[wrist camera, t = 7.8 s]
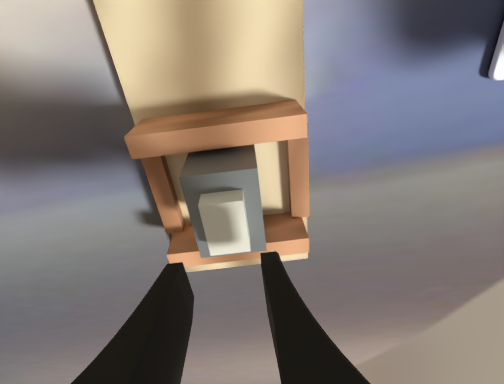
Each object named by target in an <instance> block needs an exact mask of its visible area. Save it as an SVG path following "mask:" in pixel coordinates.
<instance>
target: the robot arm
mask: <svg viewBox="0 0 504 384" xmlns="http://www.w3.org/2000/svg"><path fill="white" fill-rule="evenodd" d="M488 76H489V78H490V79H491V80H497V81H499V80H504V22H503V25H502V28H501V32H500V35H499V39H498V42H497V45H496V49H495V52H494V56H493V59H492V62H491V66H490V69H489V74H488ZM260 256H261V268H262V275H263V282H264V290H265V297H266V304H267V312H268V317H269V322H270V327H271V332H272V337H273V342H274V348H275V353H276V358H277V363H278V368H279V373H280V379H281V384H370V383H369V382H368V381H367V380H366V379H365V378H364V377H363V376H362V374H361V373H360V372H359V371H358V370H357V369H356V368H355V367H354V365H353V364H352V363H351V362H350V361H349V360H348V359H347V358H346V357H345V356H344V355H343V353H342V352H341V351H340V350H339V349H338V347H337V346H336V345H335V344H334V343H333V341H332V340H331V339H330V338H329V336H328V335H327V334H326V333H325V331H324V330H323V329H322V328H321V326H320V325H319V323H318V322H317V321H316V319H315V318H314V317H313V315H312V314H311V312H310V311H309V309H308V308H307V306H306V305H305V303H304V302H303V300H302V299H301V297H300V296H299V294H298V292H297V291H296V289H295V287H294V286H293V284H292V282H291V280H290V278H289V276H288V275H287V273H286V271H285V268H284V266H283V264H282V262H281V259H280V256H279V253H278V252H276V251H274V252H265V253H260ZM193 305H194V295H193V292H192V289H191V286H190V283H189V280H188V277H187V274H186V271H185V268H184V265H183V262H179V263H170V264H167V265H166V266H165V268H164V269H163V271H162V272H161V274H160V275H159V276H158V278H157V279H156V281H155V282H154V284H153V285H152V287H151V288H150V290H149V291H148V293H147V294H146V295H145V297H144V298H143V300H142V301H141V302H140V304H139V305H138V306H137V308H136V309H135V311H134V312H133V313H132V315H131V316H130V317H129V318H128V320H127V321H126V322H125V323H124V325H123V326H122V327H121V329H120V330H119V331H118V332H117V334H116V335H115V336H114V337H113V338H112V340H111V341H110V342H109V343H108V344H107V346H106V347H105V348H104V349H103V350H102V351H101V352H100V354H99V355H98V356H97V357H96V358H95V359H94V360H93V361H92V362H91V363H90V365H89V366H88V367H87V368H86V369H85V370H84V371H83V372H82V373H81V374H80V375H79V376H78V377H77V378H76V379H75V380H74V381H73V382H72V383H71V384H180V383H181V378H182V372H183V367H184V362H185V357H186V352H187V347H188V342H189V336H190V331H191V326H192V318H193Z"/></svg>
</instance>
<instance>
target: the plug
mask: <svg viewBox="0 0 504 384" xmlns="http://www.w3.org/2000/svg"><path fill="white" fill-rule="evenodd" d="M179 180H180V184H181V187H182V191H183V195H184V198H185V202H186V205H187V209H188V213H189V216H190V220H191V224H192V227H193V231H194V234H195V238H196V242H197V245H198V249H199V252H200V256H201V258H207V257H216V256H225V255H234V254H242V253H251V252H260V251H267V248H266V240H265V231H264V222H263V213H262V204H261V195H260V186H259V177H258V168H257V161H256V154H255V146H254V144H252V145H244V146H236V147H228V148H220V149H212V150H204V151H196V152H189V153H188V155H187V158H186V160H185V163H184V165H183V168H182V171H181V173H180V176H179Z"/></svg>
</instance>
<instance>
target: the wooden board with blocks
mask: <svg viewBox="0 0 504 384" xmlns="http://www.w3.org/2000/svg"><path fill="white" fill-rule="evenodd" d="M93 2H94V5H95V8H96V11H97V14H98V17H99V20H100V23H101V26H102V29H103V32H104V35H105V38H106V41H107V44H108V47H109V50H110V53H111V56H112V59H113V62H114V65H115V68H116V71H117V74H118V77H119V79H120V82H121V85H122V88H123V91H124V94H125V97H126V100H127V103H128V106H129V109H130V112H131V115H132V118H133V121H134V124H135V127H134V128H133V129H132V130H131V131H130V132H128V133H127V134H126V135H125V136H124V139H125V142H126V145H127V147H128V150H129V153H130V156H131V158H132V159H141V162H142V164H143V167H144V170H145V173H146V176H147V179H148V182H149V185H150V187H151V190H152V193H153V196H154V199H155V202H156V205H157V208H158V210H159V213H160V216H161V219H162V222H163V225H164V228H165V231H166V234H167V233H171V234H172V239H171V243H170V246H169V249H168V252H167V257H168V260H169V263H179V262H183V265H184V268H185V271H186V272H193V271H202V270H210V269H219V268H227V267H236V266H245V265H253V264H261V256H260V253H265V252H274V251H276V252H278V253H279V256H280V259H281V261H288V260H297V259H305V258H308V253H309V237H308V234H307V217H309V159H308V123H307V113H306V112H305V85H304V31H303V0H93ZM252 144H254V146H255V154H256V161H257V168H258V177H259V186H260V195H261V204H262V213H263V222H264V231H265V240H266V248H267V251H260V252H251V253H242V254H234V255H225V256H216V257H207V258H201V256H200V252H199V249H198V245H197V242H196V238H195V234H194V231H193V227H192V224H191V220H190V216H189V213H188V209H187V205H186V202H185V198H184V195H183V191H182V187H181V184H180V180H179V176H180V173H181V171H182V168H183V165H184V163H185V160H186V158H187V155H188V153H189V152H196V151H204V150H212V149H220V148H228V147H236V146H244V145H252Z"/></svg>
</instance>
